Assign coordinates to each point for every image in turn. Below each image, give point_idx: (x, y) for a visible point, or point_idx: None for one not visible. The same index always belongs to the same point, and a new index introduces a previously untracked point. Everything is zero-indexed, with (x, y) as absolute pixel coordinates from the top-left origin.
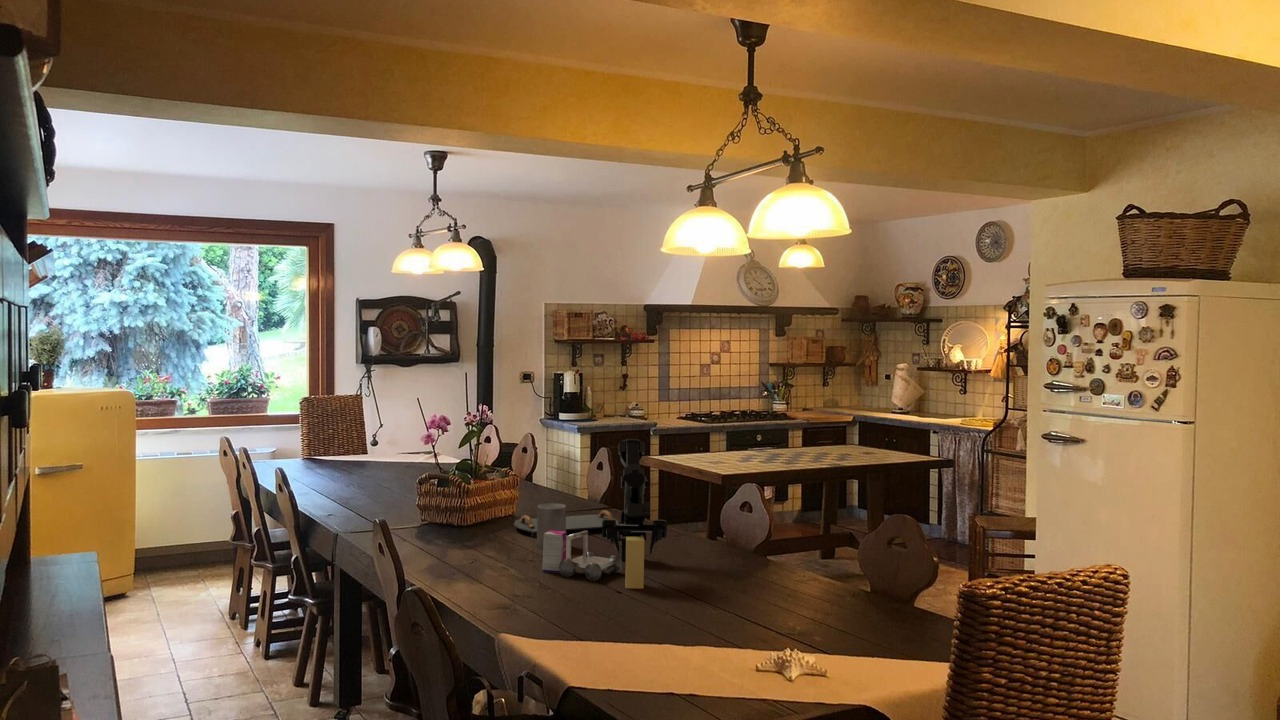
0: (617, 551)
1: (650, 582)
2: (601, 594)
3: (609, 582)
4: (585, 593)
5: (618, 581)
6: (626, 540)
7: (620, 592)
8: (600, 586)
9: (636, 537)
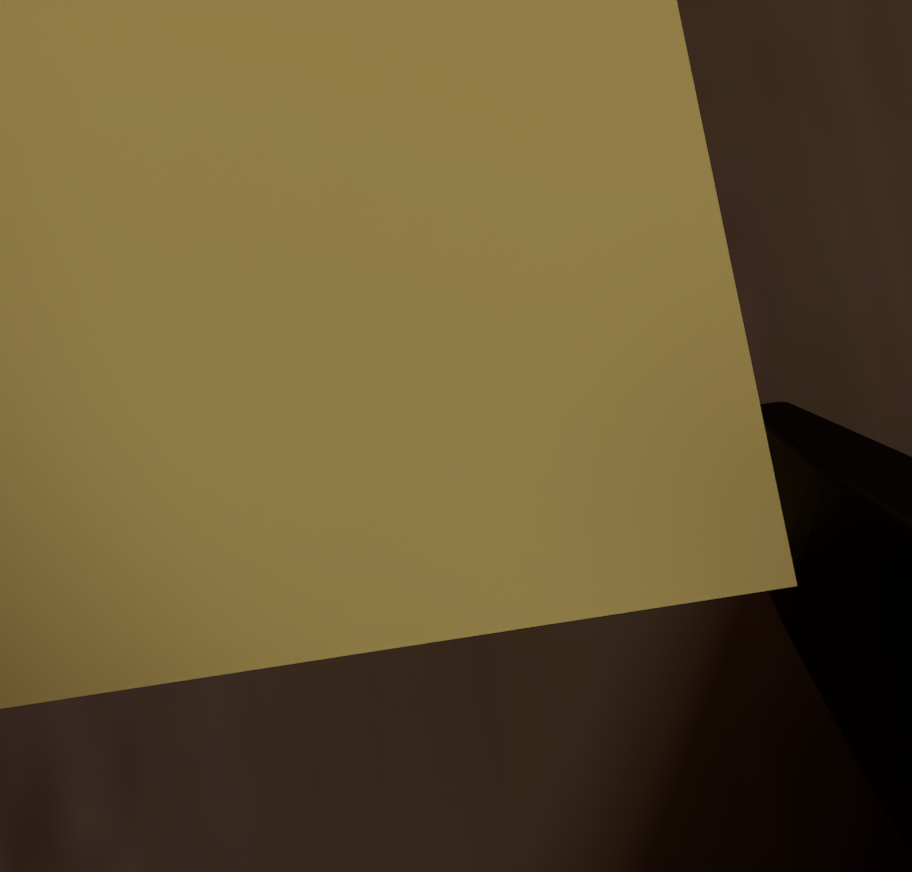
0: (803, 419)
1: (95, 738)
2: (685, 41)
3: (696, 629)
4: (871, 64)
5: (581, 711)
6: None
7: None
8: (771, 397)
9: (45, 427)
